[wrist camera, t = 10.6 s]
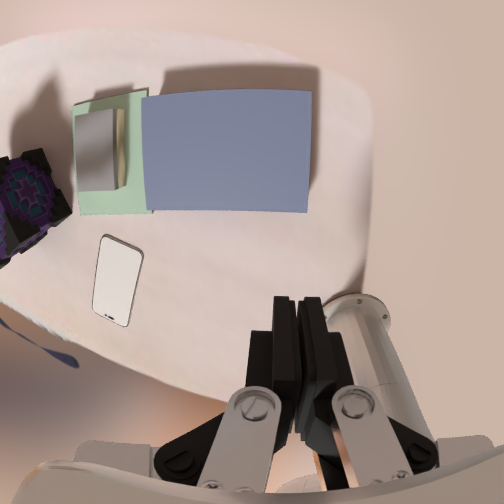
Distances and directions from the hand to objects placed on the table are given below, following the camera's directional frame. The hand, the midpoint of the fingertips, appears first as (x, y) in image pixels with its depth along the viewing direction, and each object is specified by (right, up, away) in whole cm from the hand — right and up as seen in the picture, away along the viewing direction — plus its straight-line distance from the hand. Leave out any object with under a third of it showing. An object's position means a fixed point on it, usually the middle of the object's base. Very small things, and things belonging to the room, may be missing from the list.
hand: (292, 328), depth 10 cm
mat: (-20, +15, +22) cm, 34 cm away
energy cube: (-36, +12, +25) cm, 46 cm away
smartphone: (-23, -2, +31) cm, 38 cm away
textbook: (-4, +15, +21) cm, 26 cm away
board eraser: (-21, +16, +20) cm, 33 cm away
